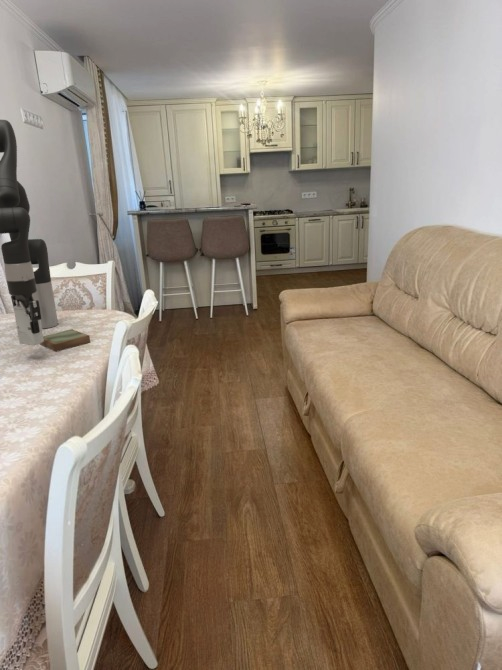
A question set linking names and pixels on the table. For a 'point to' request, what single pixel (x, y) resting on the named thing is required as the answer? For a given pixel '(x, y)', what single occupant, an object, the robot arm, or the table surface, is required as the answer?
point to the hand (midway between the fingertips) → (30, 330)
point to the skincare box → (26, 328)
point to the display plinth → (65, 340)
